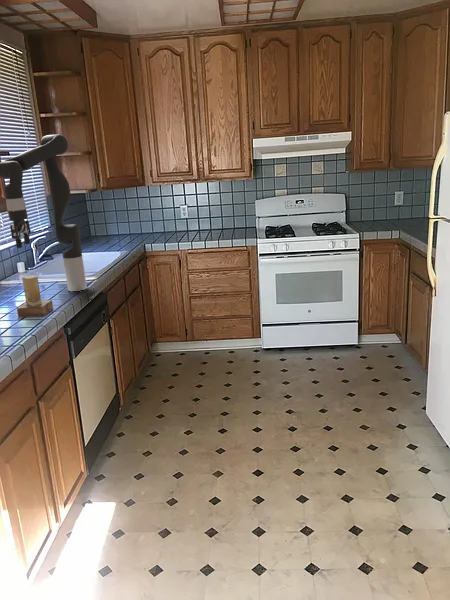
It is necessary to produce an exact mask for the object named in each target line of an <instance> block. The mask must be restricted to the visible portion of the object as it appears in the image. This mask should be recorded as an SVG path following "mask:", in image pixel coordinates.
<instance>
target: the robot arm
mask: <svg viewBox="0 0 450 600" xmlns="http://www.w3.org/2000/svg"><path fill="white" fill-rule="evenodd" d="M68 148H69V143H68V139H67V138H66V137H65V136H64V135H62V134H48V135H43V137H41V139H40V145H39V146H37V147H33V148H31V149H28V150H26V151H24V152H21V153H19V154H17V155H16V156H13V157H10V158H8V159H4V160H2V161H0V178H1V179H5V180H6V179H9V183H8V184H6V185H4V188H3V189H4V195H5V200H6V210H7V214H8V219H9V221H11V222H13V223H12V224H10V225H9V227H10V228H9V229H10V234H11V238H12V239H14V240H15V245H16V248H17V249H21V248H23V242H24V244H25V245H30V244H31V240H30V234H31V226H30V222H29V221H30V220H29V219H28V218H29V216H28V211H27V206H26V202H25V199H24V194H23V188H22V187H23V176H24V174H23V173H24V172H26V171H28V170H30V169H32V168H34V167H35V166H37V165H38V164H41V163H43V162H44V165H45V171H46V174H47V179H48V187H49V194H50V198H51V203H52V204H51V205H52V210H53V217H54V228H55V237H56V240H57V242H58V244H60V245H67V244H72V246H71V247H70V248H69V249H66V250H64V251H63V252H62V258H63V259H62V260H63V265H64V272H65V278H66V279H65V280H66V285H67V286H66V287H67V291H68V290H69V291H79V290H83V289H85V288H87V289H88V287H87V279H86V273H85V266H84V259H83V252H82V250H83V249H82V243H81V231H80V227H79V225H78V224H75V223H72V224H69V223H68V224H64V215H65V212H66V210H67V208H68V206H69V203H70V201H71V197H72V194H71V188H70V183H69V180H68V179H67V177H66V176H65V174H64V173H63V171H62V170H61V168H60V165H59V164H58V159H57V156H59V155H60V156H61V155H64V154H65V153H66V152H67V150H68ZM22 235H23V240H24V241H23V242H22Z"/></svg>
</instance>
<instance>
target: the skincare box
mask: <svg viewBox="0 0 450 600" xmlns="http://www.w3.org/2000/svg"><path fill="white" fill-rule="evenodd" d="M21 279H22V285H23V291H24V299H25V303H26V304H28V305H31V306H36V305H40V304H42V302H41V301H42V298H41V291H40V284H39V277H38V276H35V275H26V276H22V277H21Z"/></svg>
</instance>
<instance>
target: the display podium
mask: <svg viewBox="0 0 450 600" xmlns="http://www.w3.org/2000/svg"><path fill="white" fill-rule="evenodd" d="M41 302H42V304H40V305H36V306H31V305H28V304H26V302H24V303H23V304H22V305H20V306H18V307H17V308H16V313H17V318H30V317H31V318H32V317H45V316H46V315H47V314H48V313H50V312H51V311H52V310H53V309H54V306H53V305H54V304H53V301H52V299H49V300H47V299H46V300H41ZM50 310H51V311H50ZM49 311H50V312H49Z"/></svg>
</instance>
